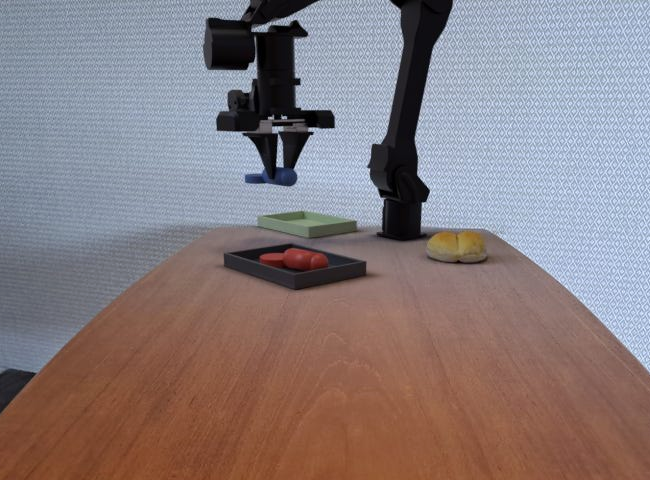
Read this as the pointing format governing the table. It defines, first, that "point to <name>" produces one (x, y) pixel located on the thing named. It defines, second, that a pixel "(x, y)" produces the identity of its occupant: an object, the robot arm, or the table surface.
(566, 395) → the table surface
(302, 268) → the red elongated piece
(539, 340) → the table surface
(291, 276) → the front tray
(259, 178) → the blue elongated piece
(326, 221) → the back tray
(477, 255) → the bread roll
